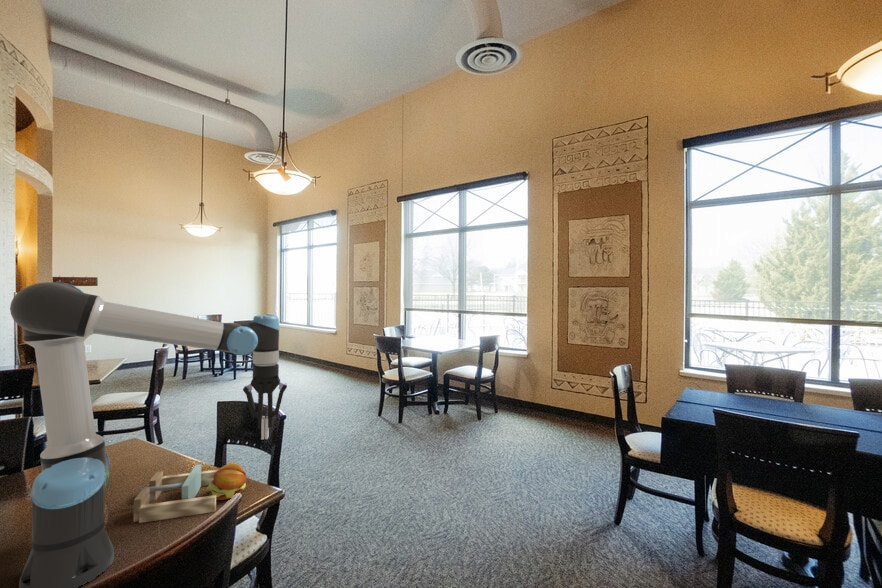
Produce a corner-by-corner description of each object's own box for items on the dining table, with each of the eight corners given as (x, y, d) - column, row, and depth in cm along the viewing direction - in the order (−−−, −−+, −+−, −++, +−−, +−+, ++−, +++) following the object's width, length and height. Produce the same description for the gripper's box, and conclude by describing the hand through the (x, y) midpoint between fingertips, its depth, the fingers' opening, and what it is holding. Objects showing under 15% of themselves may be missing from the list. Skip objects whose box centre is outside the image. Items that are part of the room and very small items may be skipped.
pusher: (201, 485, 124) (201, 464, 124) (188, 510, 111) (188, 485, 111) (149, 492, 120) (150, 470, 120) (129, 518, 106) (129, 493, 106)
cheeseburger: (234, 481, 128) (239, 453, 127) (251, 499, 122) (256, 470, 121) (201, 493, 120) (206, 464, 119) (217, 513, 114) (222, 482, 113)
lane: (227, 480, 129) (228, 462, 129) (214, 511, 111) (215, 490, 111) (157, 489, 123) (158, 470, 123) (132, 524, 104) (132, 501, 104)
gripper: (289, 360, 129) (288, 431, 129) (244, 362, 125) (243, 435, 125) (288, 365, 122) (287, 439, 122) (240, 367, 118) (239, 444, 118)
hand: (264, 437), depth 124 cm, fingers closed
